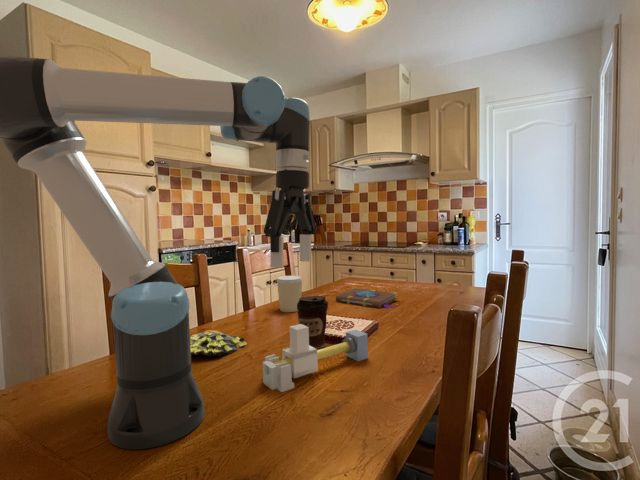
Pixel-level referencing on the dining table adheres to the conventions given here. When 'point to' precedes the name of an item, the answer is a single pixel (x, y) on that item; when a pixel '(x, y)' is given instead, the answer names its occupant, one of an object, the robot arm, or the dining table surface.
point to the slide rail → (353, 345)
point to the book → (367, 298)
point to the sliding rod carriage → (301, 352)
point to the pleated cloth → (214, 343)
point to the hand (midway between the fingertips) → (292, 264)
